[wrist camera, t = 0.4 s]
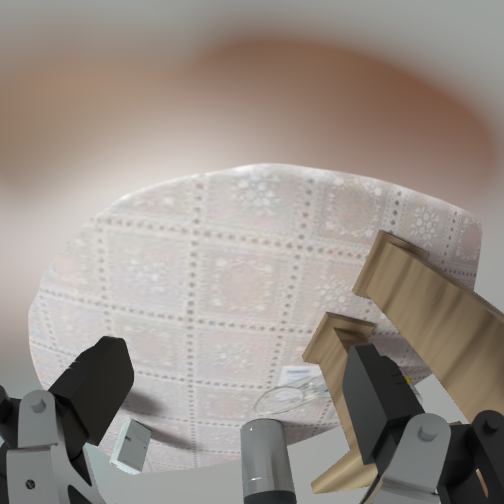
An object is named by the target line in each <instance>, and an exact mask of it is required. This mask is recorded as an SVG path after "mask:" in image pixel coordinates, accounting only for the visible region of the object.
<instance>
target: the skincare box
mask: <svg viewBox="0 0 504 504" xmlns="http://www.w3.org/2000/svg"><path fill="white" fill-rule="evenodd" d="M151 434H152V432H151V431H150V430H148V429H147V428H145V427H144V426H142V425H140V424H139V423H137V422H136V421H134V420H132V419H131V420H129V421H127V422H125V423H124V424H123V425H122V428H121V431H120V434H119V436H118V439H117V442H116V445H115V448H114V451H113V454H112V456H111V459H110V463H111V464H112V465H114V466H116V467H118V468H119V469H121V470H123V471H125V472H127V473H129V474H131V475H135V474H138V473H141V472H142V468H143V464H144V460H145V456H146V452H147V448H148V445H149V441H150V437H151Z"/></svg>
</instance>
